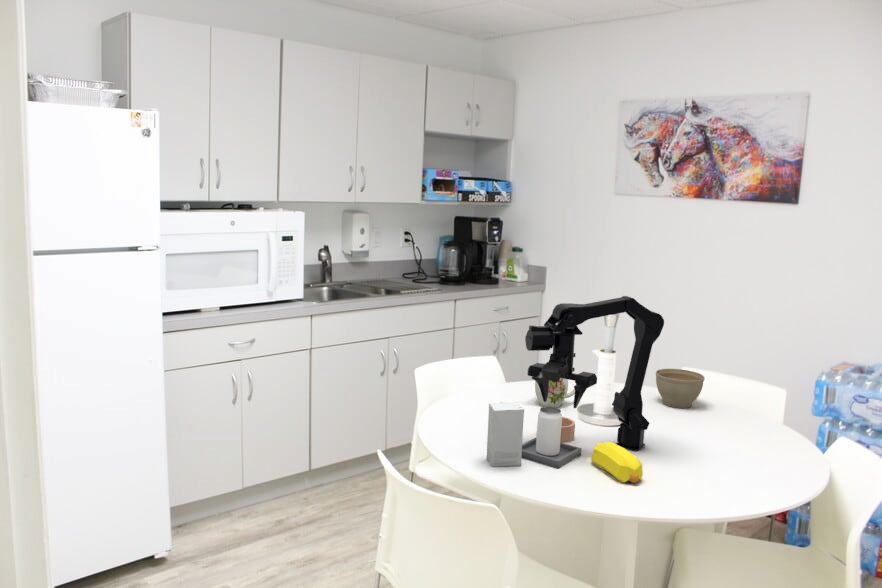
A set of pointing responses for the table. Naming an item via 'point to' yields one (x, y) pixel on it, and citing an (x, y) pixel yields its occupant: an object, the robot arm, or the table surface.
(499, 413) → the skincare box
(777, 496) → the table surface
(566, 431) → the ring
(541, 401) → the pitcher
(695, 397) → the planter bowl
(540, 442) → the can
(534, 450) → the tray
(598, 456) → the yellow faceted block
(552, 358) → the robot arm
